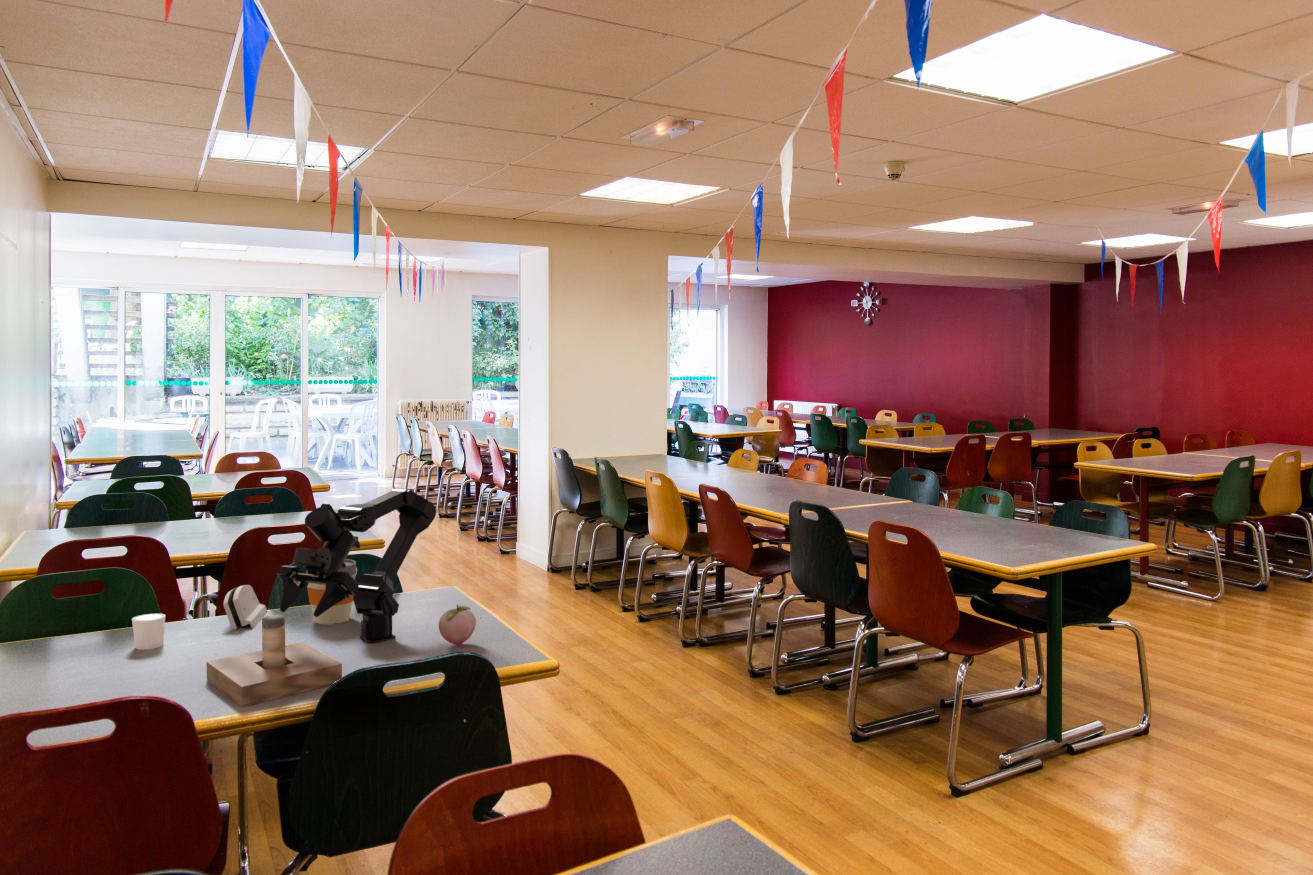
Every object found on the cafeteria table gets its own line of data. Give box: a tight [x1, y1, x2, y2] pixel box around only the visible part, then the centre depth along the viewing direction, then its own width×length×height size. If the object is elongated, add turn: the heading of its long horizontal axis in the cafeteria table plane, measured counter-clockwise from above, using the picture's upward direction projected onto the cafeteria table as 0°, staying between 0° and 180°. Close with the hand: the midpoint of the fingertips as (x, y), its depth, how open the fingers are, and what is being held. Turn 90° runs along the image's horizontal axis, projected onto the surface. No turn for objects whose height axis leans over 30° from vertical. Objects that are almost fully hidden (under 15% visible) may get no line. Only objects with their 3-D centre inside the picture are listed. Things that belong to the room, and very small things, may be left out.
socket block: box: [206, 641, 343, 708], centre depth 179 cm, size 20×20×4 cm
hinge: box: [223, 584, 268, 630], centre depth 223 cm, size 17×5×10 cm, turn 13°
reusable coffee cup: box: [305, 558, 358, 625], centre depth 225 cm, size 13×13×15 cm
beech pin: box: [261, 614, 286, 669], centre depth 179 cm, size 4×4×13 cm
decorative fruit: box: [438, 604, 477, 646], centre depth 205 cm, size 9×8×10 cm
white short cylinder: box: [131, 612, 166, 651], centre depth 201 cm, size 7×7×7 cm
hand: (298, 613), depth 185 cm, fingers open, 9 cm apart
